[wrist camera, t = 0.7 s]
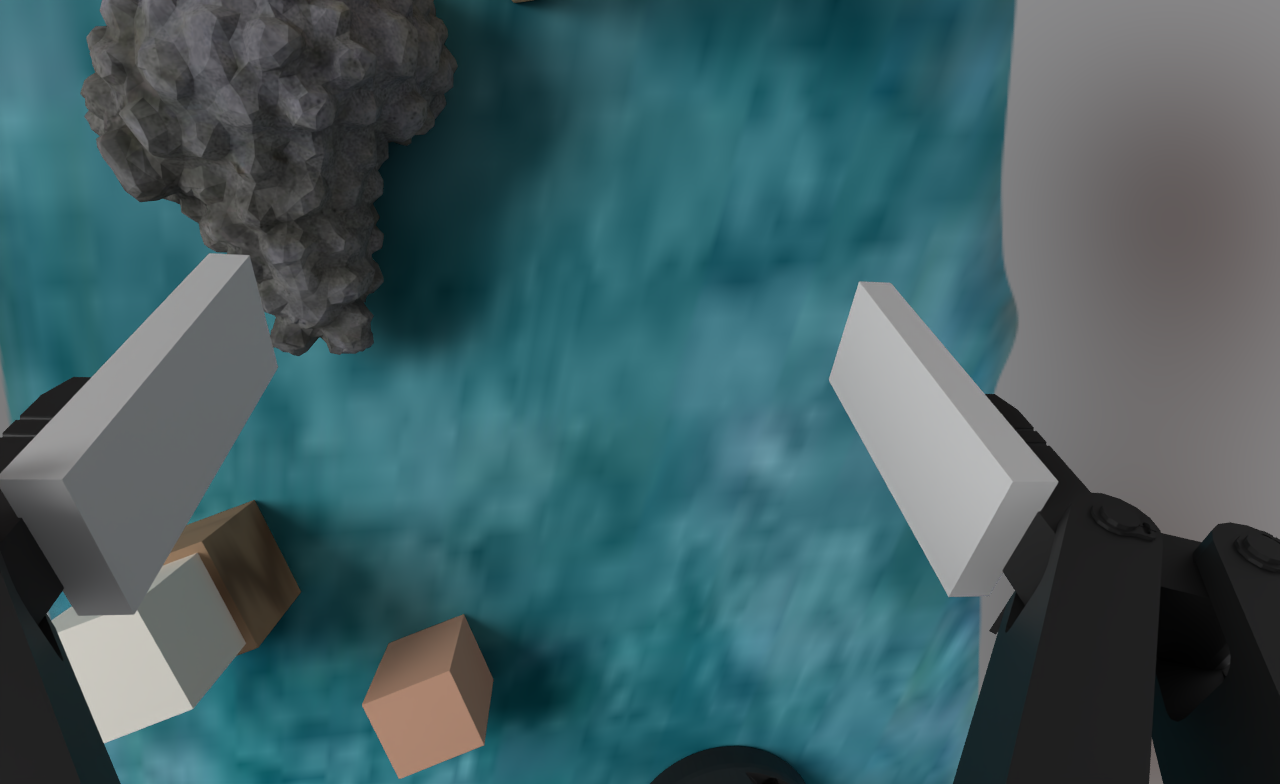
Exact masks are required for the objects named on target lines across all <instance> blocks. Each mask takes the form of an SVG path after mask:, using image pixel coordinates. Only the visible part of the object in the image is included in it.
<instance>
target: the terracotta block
mask: <svg viewBox="0 0 1280 784" xmlns="http://www.w3.org/2000/svg"><path fill="white" fill-rule="evenodd" d="M492 686H493V677H492V675H491V673H490V671H489V669H488V666H487V664H486V662H485V660H484V658H483V655H482V653H481V651H480V649H479V646H478V644H477V642H476V640H475V638H474V635H473V633H472V631H471V629H470V627H469V624H468V622H467V620H466V618H465V615H464V614H463V615H460V616H458V617H455V618H453V619H450V620H447V621H445V622H442V623H440V624H437V625H434V626H432V627H429V628H427V629H424V630H422V631H419V632H416V633H414V634H411V635H409V636H406V637H403V638H401V639H398V640H396V641H393V642H391V643H389V644H388V646H387V649H386V651H385V653H384V655H383V658H382V660H381V662H380V665H379V667H378V669H377V672H376V674H375V676H374V678H373V681H372V683H371V685H370V688H369V690H368V692H367V695H366V697H365V699H364V701H363V704H362V706H363V708H364V710H365V712H366V714H367V716H368V718H369V720H370V722H371V724H372V726H373V728H374V730H375V732H376V734H377V736H378V738H379V740H380V742H381V744H382V746H383V748H384V750H385V752H386V754H387V756H388V758H389V760H390V762H391V764H392V766H393V768H394V770H395V772H396V774H397V776H398V778H399V779H401V778H403V777H406V776H408V775H411V774H413V773H416V772H418V771H421V770H423V769H426V768H428V767H431V766H433V765H436V764H438V763H441V762H443V761H446V760H448V759H451V758H453V757H456V756H458V755H461V754H463V753H466V752H468V751H471V750H473V749H476V748H478V747H481V746H483V745H484V743H485V735H486V728H487V721H488V714H489V707H490V700H491V693H492Z"/></svg>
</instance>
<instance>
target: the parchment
mask: <svg viewBox="0 0 1280 784" xmlns="http://www.w3.org/2000/svg"><path fill="white" fill-rule="evenodd" d="M512 1H513V2H514V3H518V2H525V1H532V0H512Z"/></svg>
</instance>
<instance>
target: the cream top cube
mask: <svg viewBox="0 0 1280 784" xmlns="http://www.w3.org/2000/svg"><path fill="white" fill-rule="evenodd" d="M51 622H52V623H53V625H54V626H55V628H56V630H57V633H58V635H59V638H60V640H61V642H62V645H63V647H64V650H65V652H66V654H67V657H68V659H69V662H70V664H71V666H72V669H73V671H74V673H75V676H76V678H77V681H78V683H79V685H80V688H81V690H82V693H83V695H84V697H85V700H86V702H87V705H88V707H89V709H90V712H91V714H92V717H93V719H94V721H95V724H96V726H97V728H98V731H99V733H100V736H101V738H102V740H103V743H106V742H109V741H111V740H114V739H116V738H119V737H122V736H124V735H127V734H129V733H132V732H134V731H137V730H140V729H142V728H145V727H147V726H150V725H153V724H155V723H158V722H160V721H163V720H165V719H168V718H171V717H173V716H176V715H178V714H181V713H184V712H186V711H189V710H191V709H193V708H194V707H195V706H196V705H197V703H198V702H199V701H200V700H201V698H202V697H203V696H204V695H205V694H206V692H207V691H208V690H209V689H210V687H211V686H212V685H213V684H214V682H215V681H216V680H217V679H218V678H219V676H220V675H221V674H222V673H223V671H224V670H225V669H226V668H227V667H228V665H229V664H230V663H231V662H232V660H233V659H234V658H235V657H236V655H237V654H238V653H239V652H240V651H241V649H242V648H243V647H244V646H245V644H246V642H245V640H244V638H243V637H242V635H241V633H240V631H239V629H238V627H237V625H236V623H235V622H234V620H233V618H232V616H231V614H230V612H229V610H228V609H227V607H226V605H225V603H224V601H223V599H222V597H221V595H220V594H219V592H218V590H217V588H216V586H215V584H214V582H213V580H212V579H211V577H210V575H209V573H208V571H207V569H206V567H205V566H204V564H203V562H202V560H201V558H200V556H199V554H198V553H195V554H192V555H190V556H187V557H184V558H182V559H179V560H176V561H174V562H171V563H168V564H166V565H163V566H162V568H161V569H160V571H159V573H158V575H157V576H156V578H155V580H154V582H153V583H152V585H151V587H150V588H149V590H148V592H147V594H146V595H145V597H144V599H143V600H142V602H141V604H140V606H139V607H138V609H137V611H136V613H135V614H134V615H97V616H78V615H77V613H76V612H75V610H74V608H73V607H70V608H69V609H67V610H66V611H64V612H63V613H62V614H60V615H59V616H57V617H56V618H55V619H53V620H52V621H51Z"/></svg>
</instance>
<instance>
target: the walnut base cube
mask: <svg viewBox="0 0 1280 784" xmlns="http://www.w3.org/2000/svg"><path fill="white" fill-rule="evenodd" d="M195 553H198V554H199V556H200V558H201V560H202V562H203V564H204V566H205V567H206V569H207V571H208V573H209V575H210V577H211V579H212V580H213V582H214V584H215V586H216V588H217V590H218V592H219V594H220V595H221V597H222V599H223V601H224V603H225V605H226V607H227V609H228V610H229V612H230V614H231V616H232V618H233V620H234V622H235V623H236V625H237V627H238V629H239V631H240V633H241V635H242V637H243V638H244V640H245V642H246V644H245V646H244V647H243V648H242V649H241V651H240V652H239V653H238V654H237V655H240V654H242V653H245V652H248V651H250V650H253V649H255V648H258V647H259V646H260V644H261V643H262V642H263V641H264V639H265V638H266V637H267V635H268V634H269V633H270V632H271V630H272V629H273V628H274V626H275V625H276V624H277V622H278V621H279V620H280V619H281V617H282V616H283V615H284V613H285V612H286V611H287V610H288V608H289V607H290V606H291V604H292V603H293V602H294V601H295V599H296V598H297V597H298V595H299V594H300V593H301V591H300V589H299V587H298V585H297V583H296V581H295V579H294V577H293V575H292V573H291V571H290V569H289V567H288V565H287V563H286V561H285V559H284V557H283V555H282V553H281V551H280V549H279V547H278V545H277V543H276V541H275V539H274V537H273V535H272V533H271V531H270V529H269V527H268V526H267V524H266V522H265V520H264V518H263V516H262V514H261V512H260V510H259V508H258V506H257V504H256V502H255V500H253V501H250V502H248V503H245V504H242V505H240V506H237V507H234V508H232V509H229V510H226V511H224V512H221V513H218V514H216V515H213V516H210V517H207V518H205V519H202V520H199V521H197V522H194V523H191V524H189V525H186V526H185V528H184V530H183V532H182V533H181V535H180V537H179V539H178V540H177V542H176V544H175V545H174V547H173V549H172V551H171V552H170V554H169V556H168V557H167V559H166V561H165V563H164V564H163V565H166V564H168V563H171V562H174V561H176V560H179V559H182V558H184V557H187V556H190V555H192V554H195ZM237 655H236V656H237Z"/></svg>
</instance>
